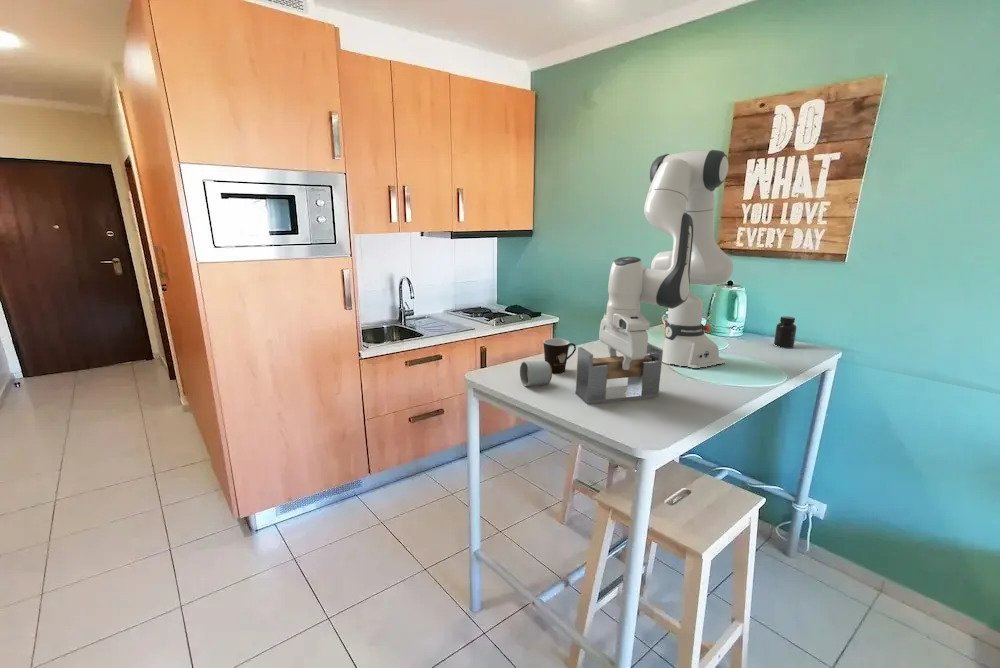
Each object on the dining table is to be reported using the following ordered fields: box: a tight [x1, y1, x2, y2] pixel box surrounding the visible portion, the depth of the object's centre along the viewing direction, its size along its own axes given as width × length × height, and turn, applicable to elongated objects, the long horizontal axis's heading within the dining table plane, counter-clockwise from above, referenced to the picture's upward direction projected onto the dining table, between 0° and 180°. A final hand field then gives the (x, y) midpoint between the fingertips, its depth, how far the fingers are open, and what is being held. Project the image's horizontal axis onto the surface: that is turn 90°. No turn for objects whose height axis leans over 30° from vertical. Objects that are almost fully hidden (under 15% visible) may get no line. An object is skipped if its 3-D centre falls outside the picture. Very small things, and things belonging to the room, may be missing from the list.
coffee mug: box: [542, 338, 577, 375], centre depth 143 cm, size 12×9×10 cm
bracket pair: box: [574, 342, 663, 405], centre depth 122 cm, size 22×8×14 cm, turn 104°
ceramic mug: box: [519, 360, 553, 387], centre depth 133 cm, size 11×8×8 cm
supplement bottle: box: [773, 316, 797, 348], centre depth 174 cm, size 7×7×12 cm
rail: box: [593, 355, 652, 380], centre depth 122 cm, size 18×4×5 cm, turn 104°
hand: (619, 365), depth 121 cm, fingers open, 5 cm apart
